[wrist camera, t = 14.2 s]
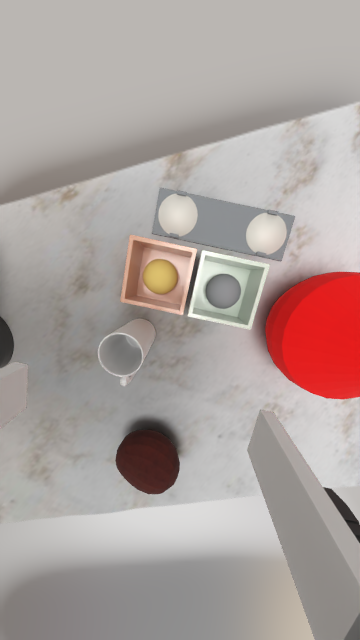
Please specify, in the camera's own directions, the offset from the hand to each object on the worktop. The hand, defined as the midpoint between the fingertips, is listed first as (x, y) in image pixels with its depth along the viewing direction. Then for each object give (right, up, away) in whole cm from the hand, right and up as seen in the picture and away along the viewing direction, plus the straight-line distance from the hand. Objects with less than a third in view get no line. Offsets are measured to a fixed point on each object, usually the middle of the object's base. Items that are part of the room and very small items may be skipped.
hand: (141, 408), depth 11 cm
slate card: (+10, +22, +24) cm, 34 cm away
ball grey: (+10, +10, +23) cm, 27 cm away
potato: (-4, -22, +34) cm, 41 cm away
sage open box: (+10, +11, +26) cm, 30 cm away
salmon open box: (-1, +13, +27) cm, 30 cm away
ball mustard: (-1, +12, +23) cm, 26 cm away
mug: (-6, +1, +30) cm, 30 cm away
